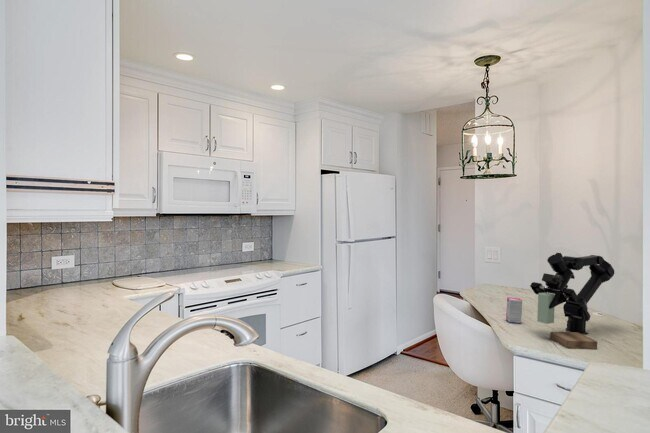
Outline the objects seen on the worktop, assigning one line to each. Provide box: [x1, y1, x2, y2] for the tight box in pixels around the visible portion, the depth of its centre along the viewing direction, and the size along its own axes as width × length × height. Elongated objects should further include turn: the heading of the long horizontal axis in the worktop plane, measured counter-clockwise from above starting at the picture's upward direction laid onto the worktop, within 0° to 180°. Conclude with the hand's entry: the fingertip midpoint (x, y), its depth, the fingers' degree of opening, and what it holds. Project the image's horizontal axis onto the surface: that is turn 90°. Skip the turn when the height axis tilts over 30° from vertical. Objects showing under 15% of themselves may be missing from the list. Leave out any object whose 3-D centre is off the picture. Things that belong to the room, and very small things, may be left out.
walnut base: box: [549, 331, 598, 350], centre depth 167 cm, size 12×12×3 cm
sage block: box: [536, 292, 555, 325], centre depth 173 cm, size 4×4×12 cm
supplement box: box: [505, 296, 523, 325], centre depth 197 cm, size 6×6×12 cm
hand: (544, 306), depth 172 cm, fingers closed on sage block, 4 cm apart
